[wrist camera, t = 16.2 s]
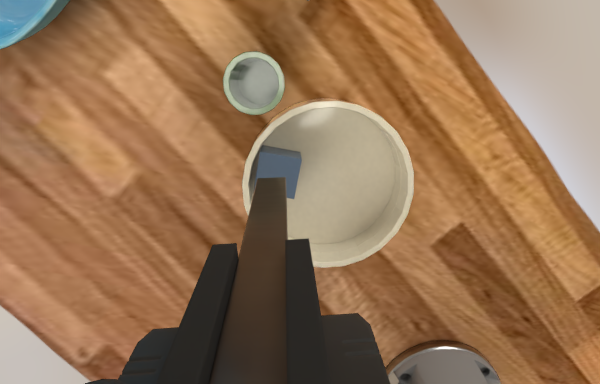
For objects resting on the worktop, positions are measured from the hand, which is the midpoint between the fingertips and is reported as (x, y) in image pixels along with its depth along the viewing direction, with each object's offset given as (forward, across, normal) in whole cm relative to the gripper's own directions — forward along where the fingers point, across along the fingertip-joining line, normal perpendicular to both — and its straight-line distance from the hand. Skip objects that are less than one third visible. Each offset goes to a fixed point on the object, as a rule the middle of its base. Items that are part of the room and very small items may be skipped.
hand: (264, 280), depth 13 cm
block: (+30, 0, +3) cm, 30 cm away
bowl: (+31, -5, +4) cm, 31 cm away
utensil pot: (+31, +1, -6) cm, 31 cm away
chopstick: (+10, 0, 0) cm, 10 cm away
